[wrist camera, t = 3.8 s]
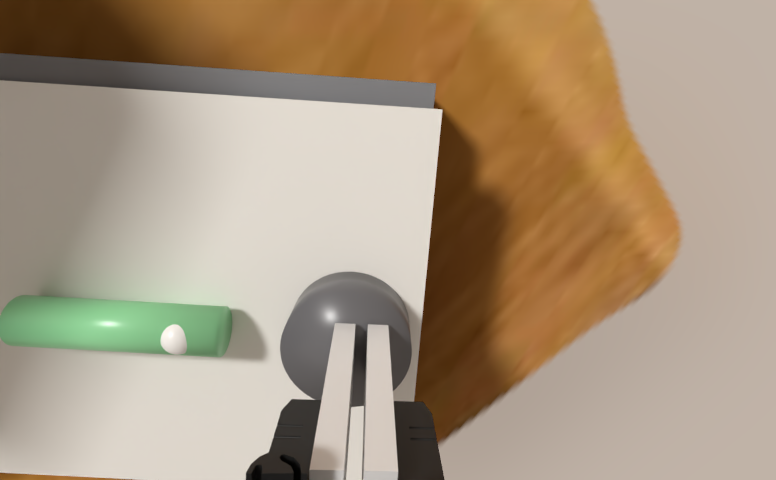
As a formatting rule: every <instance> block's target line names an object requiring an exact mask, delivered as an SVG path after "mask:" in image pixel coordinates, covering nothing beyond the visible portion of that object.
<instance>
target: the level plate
mask: <svg viewBox="0 0 776 480" xmlns="http://www.w3.org/2000/svg"><path fill="white" fill-rule="evenodd" d="M441 120H442V109H429V108H414V107H399V106H384V105H369V104H353V103H338V102H323V101H308V100H293V99H277V98H262V97H247V96H232V95H217V94H201V93H186V92H171V91H156V90H141V89H126V88H110V87H95V86H80V85H65V84H50V83H34V82H19V81H4V80H0V473H19V474H39V475H59V476H79V477H99V478H119V479H139V480H246V472H247V470H248V468H249V467H250V465H251V464H252V463H253V462H254V461H255V460H256V459H257V458H258V457H260V456H262V455H264V454H266V453H268V452H269V450H270V447H271V443H272V440H273V438H274V433H275V430H276V427H277V423H278V420H279V416H280V413H281V410H282V409H283V408H284V407H285V406H286V405H287V404H288V403H289V401H290V400H291V399H307V400H322V395H323V389H324V383H325V377H326V372H327V366H328V360H329V354H330V349H331V343H332V337H333V331H334V326H335V323H347V324H356V325H355V348H354V371H353V391H352V404H351V418H350V432H349V446H348V460H347V474H346V480H362V452H363V419H364V387H365V368H366V350H367V331H368V324H373V325H388V328H389V343H390V357H391V372H392V387H393V401H411V402H414V397H415V387H416V376H417V366H418V356H419V346H420V335H421V325H422V315H423V305H424V294H425V284H426V274H427V263H428V253H429V243H430V233H431V222H432V212H433V202H434V192H435V181H436V171H437V161H438V151H439V140H440V130H441Z"/></svg>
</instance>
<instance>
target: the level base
mask: <svg viewBox="0 0 776 480" xmlns="http://www.w3.org/2000/svg"><path fill="white" fill-rule="evenodd" d="M0 80H4V81H19V82H34V83H50V84H65V85H80V86H95V87H110V88H126V89H141V90H156V91H171V92H186V93H201V94H217V95H232V96H247V97H262V98H277V99H293V100H308V101H323V102H338V103H353V104H369V105H384V106H399V107H414V108H429V109H434V100H435V89H436V84H434V83H420V82H406V81H391V80H377V79H363V78H349V77H334V76H320V75H306V74H292V73H277V72H263V71H249V70H235V69H220V68H206V67H192V66H178V65H163V64H149V63H135V62H121V61H106V60H92V59H78V58H64V57H49V56H35V55H21V54H7V53H0Z"/></svg>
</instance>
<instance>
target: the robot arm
mask: <svg viewBox="0 0 776 480" xmlns="http://www.w3.org/2000/svg"><path fill="white" fill-rule="evenodd" d="M355 325H356V324H347V323H335V326H334V331H333V337H332V343H331V349H330V354H329V360H328V366H327V372H326V377H325V383H324V389H323V395H322V400H307V399H291V400H290V401H289V403H288V404H287V405H286V406H285V407H284V408H283V409H282V410H281V413H280V416H279V420H278V423H277V427H276V430H275V433H274V438H273V440H272V443H271V447H270V450H269V452H268V453H266V454H264V455H262V456H260V457H258V458H257V459H256V460H255V461H254V462H253V463H252V464H251V465H250V467H249V468H248V470H247V472H246V480H346V474H347V460H348V446H349V432H350V418H351V404H352V391H353V371H354V348H355ZM436 439H437V438H436V433H435V430H434V422H433V417H432V413H431V412H430V411H429V409H428V408H427V407H426V405H425V404H424V403H423V402H411V401H393V387H392V372H391V357H390V343H389V328H388V325H373V324H368V331H367V350H366V368H365V387H364V419H363V452H362V480H444V476H443V470H442V465H441V460H440V454H439V449H438V444H437V441H436Z"/></svg>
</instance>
